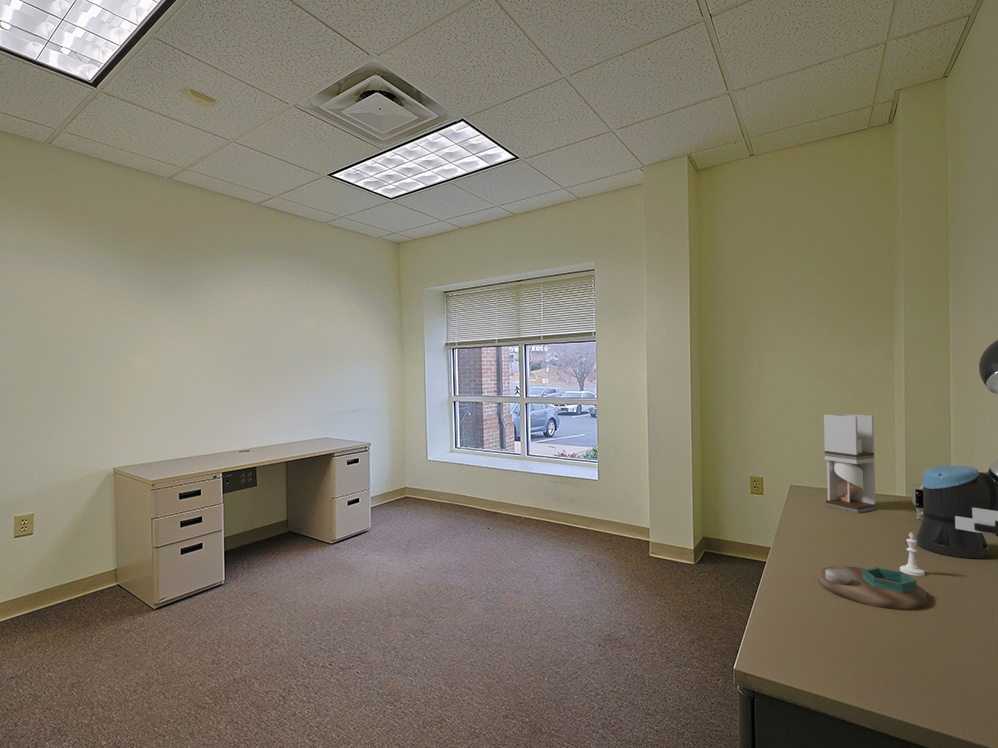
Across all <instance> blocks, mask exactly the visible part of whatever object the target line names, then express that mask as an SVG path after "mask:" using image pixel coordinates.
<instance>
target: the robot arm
mask: <svg viewBox="0 0 998 748" xmlns="http://www.w3.org/2000/svg"><path fill="white" fill-rule="evenodd" d="M978 371H979V375H980V378H981V381H982V383H983V384H984V385H985V387H986V389H987V390H988V391H989V392H991V393H993V394H996V395H998V339H997V340H995V341H992V343H991V344H990V345H988V347H987V348H986V349H985V350H984V351H983V352H982V355H980V359H979V365H978ZM922 476H923V477H922V483H921V484H922V486H923V505H924V514H923V515H924V519H923V520H922V522H921V524H920V527H919V529H918V531H917V534H916V538H915V540H916V541H917V543H916V545H917V546H918V547H920V548H922V549H923V550H927V551H929V552H933V553H937V554H941V555H945V556H949V557H950V556H951V557H955V558H965V559H986V558H989V556H990V548H989V545H988V543H987V541H986V537H985V536H984V534H985V535H990V536H995V537H998V460H995V461H992V462H991V464H990V466H989V468H988V471H987V472H983V471H982V472H979V470H978V469H977V468H975V467H972V466H969V465H967V466H966V465H941V466H940V465H939V466H933V467H929V468H926V469H925V470H924V471H923V475H922Z"/></svg>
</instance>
